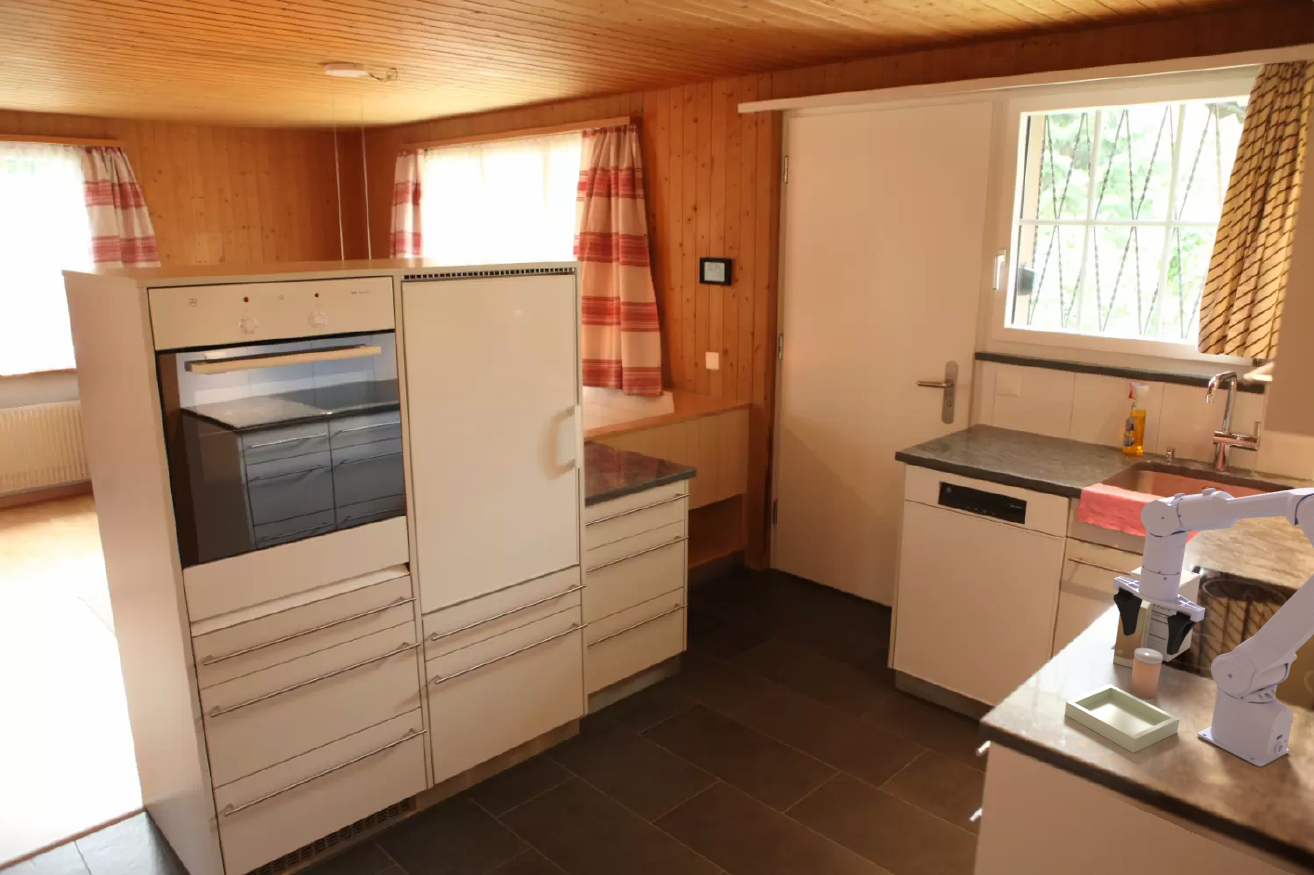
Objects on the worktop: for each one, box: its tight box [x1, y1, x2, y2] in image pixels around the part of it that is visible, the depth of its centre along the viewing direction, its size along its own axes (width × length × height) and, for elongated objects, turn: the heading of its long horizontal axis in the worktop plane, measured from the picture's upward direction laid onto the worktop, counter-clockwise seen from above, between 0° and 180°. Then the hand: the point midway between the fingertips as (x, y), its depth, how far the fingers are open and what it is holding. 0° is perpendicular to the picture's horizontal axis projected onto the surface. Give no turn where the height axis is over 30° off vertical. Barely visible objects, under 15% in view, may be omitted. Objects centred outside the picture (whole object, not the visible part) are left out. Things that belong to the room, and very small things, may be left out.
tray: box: [1064, 683, 1180, 754], centre depth 142 cm, size 12×11×2 cm
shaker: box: [1129, 648, 1164, 699], centre depth 151 cm, size 4×4×7 cm
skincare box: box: [1112, 600, 1153, 669], centre depth 160 cm, size 6×4×12 cm
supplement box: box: [1128, 565, 1202, 663], centre depth 165 cm, size 9×9×15 cm
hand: (1150, 643), depth 149 cm, fingers open, 7 cm apart
